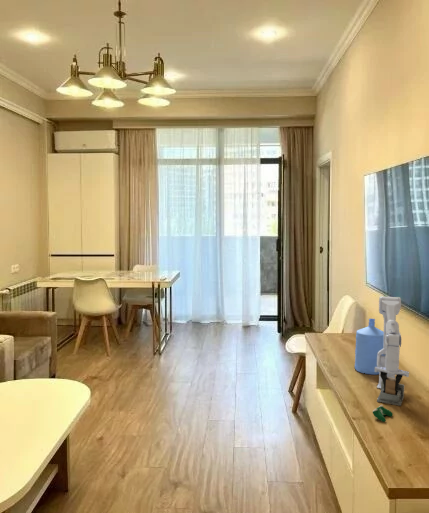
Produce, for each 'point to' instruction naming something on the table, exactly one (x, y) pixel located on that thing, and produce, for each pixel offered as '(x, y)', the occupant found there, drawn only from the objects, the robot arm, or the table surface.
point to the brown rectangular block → (390, 385)
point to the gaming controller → (382, 413)
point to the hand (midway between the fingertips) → (390, 389)
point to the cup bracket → (391, 395)
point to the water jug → (368, 348)
